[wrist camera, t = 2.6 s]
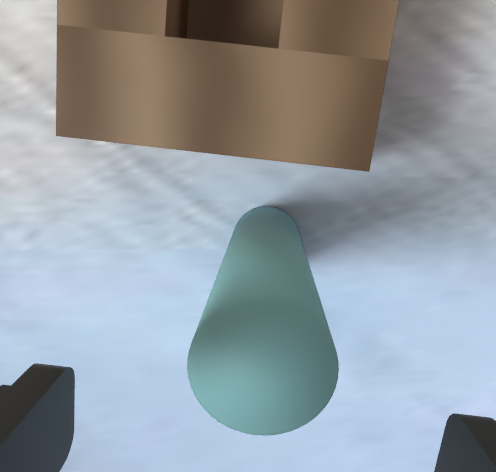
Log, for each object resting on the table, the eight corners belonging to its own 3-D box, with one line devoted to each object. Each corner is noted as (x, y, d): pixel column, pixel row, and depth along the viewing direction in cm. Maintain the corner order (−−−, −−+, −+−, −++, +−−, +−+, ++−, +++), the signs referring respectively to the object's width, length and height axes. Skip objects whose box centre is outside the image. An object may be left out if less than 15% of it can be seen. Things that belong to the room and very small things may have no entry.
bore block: (390, -118, 22) (435, -213, 16) (345, 163, 25) (368, 171, 19) (115, -145, 22) (59, -248, 16) (105, 136, 25) (56, 135, 19)
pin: (303, 210, 26) (350, 308, 11) (294, 274, 26) (326, 444, 12) (236, 202, 26) (193, 289, 11) (229, 266, 26) (182, 425, 12)
